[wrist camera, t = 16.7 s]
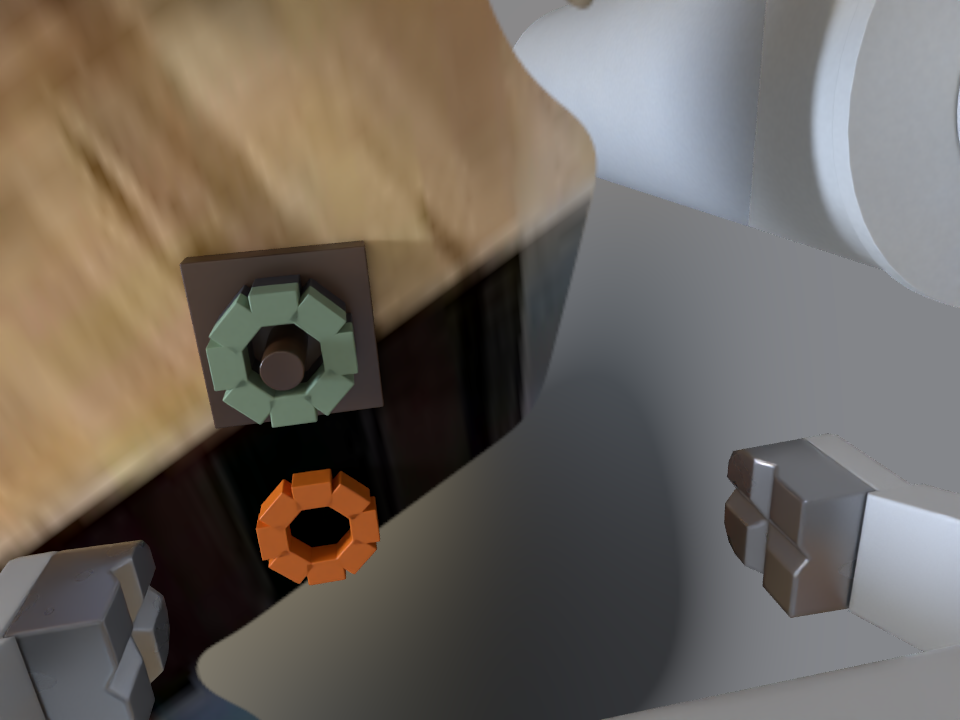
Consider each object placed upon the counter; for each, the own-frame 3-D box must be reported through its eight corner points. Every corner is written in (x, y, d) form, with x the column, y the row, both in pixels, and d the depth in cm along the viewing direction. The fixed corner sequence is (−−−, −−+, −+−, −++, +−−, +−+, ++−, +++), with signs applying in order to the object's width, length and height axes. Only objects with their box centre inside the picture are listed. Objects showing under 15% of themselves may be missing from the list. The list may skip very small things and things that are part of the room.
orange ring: (370, 462, 42) (371, 475, 40) (382, 557, 44) (384, 573, 43) (251, 479, 41) (248, 493, 39) (271, 575, 43) (269, 592, 42)
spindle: (363, 240, 37) (368, 265, 32) (382, 396, 40) (389, 444, 35) (185, 257, 36) (157, 287, 30) (219, 417, 39) (200, 470, 33)
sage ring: (346, 276, 34) (346, 285, 33) (362, 403, 37) (363, 416, 35) (201, 291, 33) (195, 301, 32) (228, 420, 36) (223, 434, 34)
